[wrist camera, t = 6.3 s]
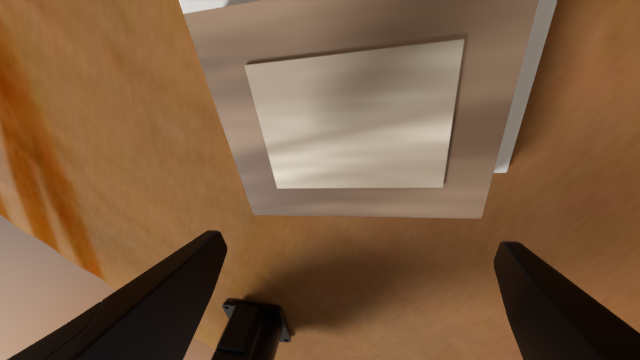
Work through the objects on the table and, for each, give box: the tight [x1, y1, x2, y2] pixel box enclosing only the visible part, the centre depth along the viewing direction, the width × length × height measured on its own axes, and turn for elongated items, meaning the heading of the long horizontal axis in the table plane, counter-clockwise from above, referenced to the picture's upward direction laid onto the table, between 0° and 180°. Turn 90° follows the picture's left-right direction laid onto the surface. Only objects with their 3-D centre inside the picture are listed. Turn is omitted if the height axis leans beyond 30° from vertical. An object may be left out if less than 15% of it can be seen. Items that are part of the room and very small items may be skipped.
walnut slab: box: [184, 0, 539, 219], centre depth 12 cm, size 3×12×10 cm
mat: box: [179, 0, 557, 173], centre depth 13 cm, size 11×16×1 cm
